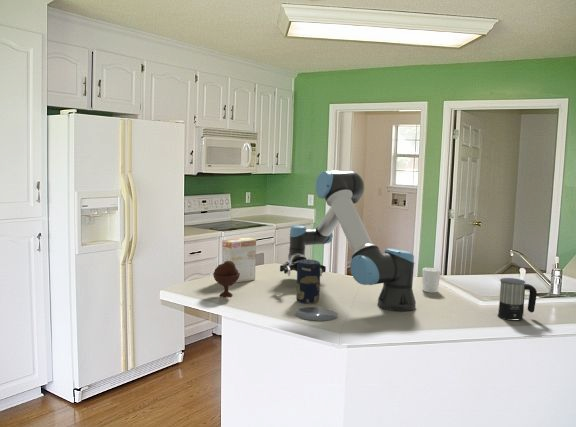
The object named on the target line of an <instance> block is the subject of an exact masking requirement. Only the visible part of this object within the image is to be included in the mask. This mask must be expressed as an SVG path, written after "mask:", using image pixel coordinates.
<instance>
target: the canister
mask: <svg viewBox="0 0 576 427" xmlns="http://www.w3.org/2000/svg"><path fill="white" fill-rule="evenodd" d="M320 265H321V263H320V261H318V260H315V259H309V258H308V259H307V258H306V260H300V261H298V264H297V271H296V292H295V293H296V294H295V295H296V296H295V298H296V301H297V302H298V303H301V304H315V303H318V302H319V300H320V292H321V291H320V290H321V288H320V287H321V276H320Z"/></svg>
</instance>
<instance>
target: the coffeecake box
mask: <svg viewBox="0 0 576 427" xmlns="http://www.w3.org/2000/svg"><path fill="white" fill-rule="evenodd" d="M221 242H222V243H221V244H222V245H221V264H223V263H224V262H225V261H232V262H233V263H234V264H235V267H236V269H237V270H238V273H240V275H239V278H238V280H237V281H236V282H235V283H234V284H236V283H242V282H248V281H255V280H256V264H257V263H256V261H257V258H256V257H257V239H255V238H252V237H241V238H239V237H238V238H231V239H230V238H229V239H222V240H221Z"/></svg>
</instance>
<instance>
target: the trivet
mask: <svg viewBox="0 0 576 427" xmlns="http://www.w3.org/2000/svg"><path fill="white" fill-rule="evenodd" d="M294 315H295V316H296V317H297V318H299V319H301V320H305V321H310V322H328V321H332V320H335V319H337V317H338V313H337V312H336V311H335V310H333V309H329V308H327V307H326V308H325V307H319V306H307V307H301V308H298V309H296V310H295V312H294Z"/></svg>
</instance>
